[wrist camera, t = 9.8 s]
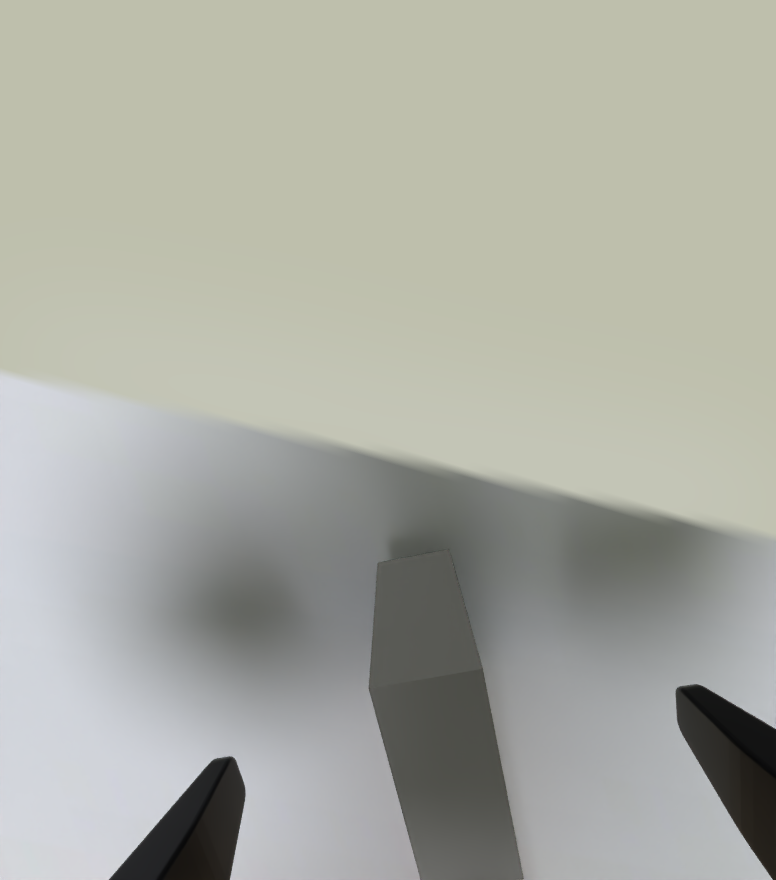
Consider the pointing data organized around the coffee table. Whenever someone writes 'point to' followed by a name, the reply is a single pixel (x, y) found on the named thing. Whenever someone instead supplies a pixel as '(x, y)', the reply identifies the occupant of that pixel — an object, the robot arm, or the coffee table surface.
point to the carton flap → (439, 724)
